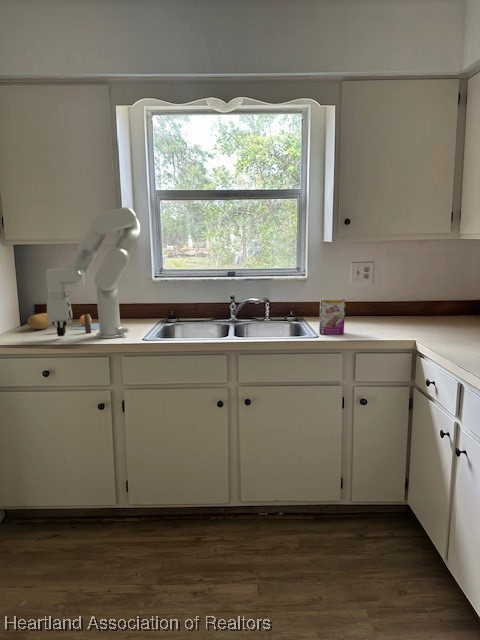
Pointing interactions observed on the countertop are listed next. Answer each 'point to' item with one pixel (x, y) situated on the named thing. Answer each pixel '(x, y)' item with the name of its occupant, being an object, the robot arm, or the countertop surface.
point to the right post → (87, 323)
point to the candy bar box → (332, 316)
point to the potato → (39, 321)
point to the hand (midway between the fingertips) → (61, 335)
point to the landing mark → (81, 327)
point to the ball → (83, 320)
